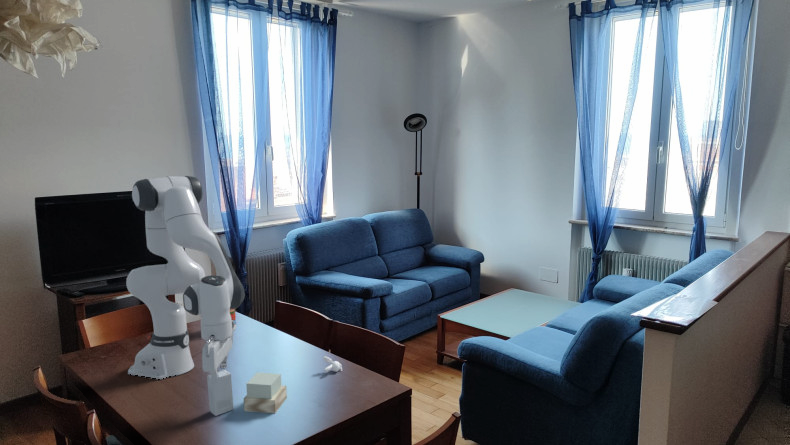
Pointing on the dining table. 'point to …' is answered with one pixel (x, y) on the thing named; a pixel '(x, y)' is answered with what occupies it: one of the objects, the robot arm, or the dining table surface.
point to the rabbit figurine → (334, 365)
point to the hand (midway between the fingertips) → (219, 374)
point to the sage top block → (263, 385)
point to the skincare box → (220, 393)
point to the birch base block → (266, 402)
